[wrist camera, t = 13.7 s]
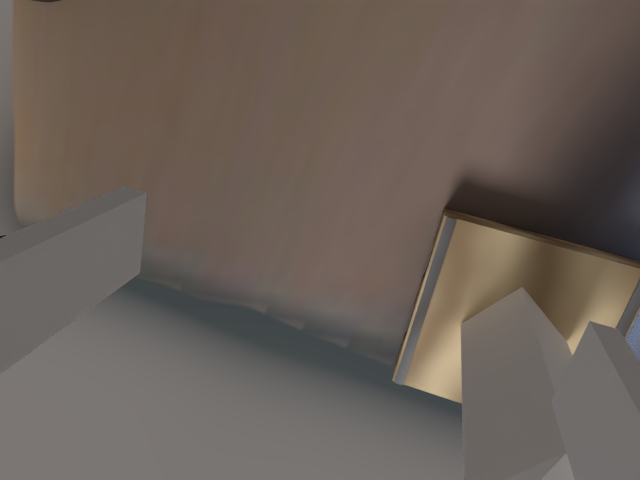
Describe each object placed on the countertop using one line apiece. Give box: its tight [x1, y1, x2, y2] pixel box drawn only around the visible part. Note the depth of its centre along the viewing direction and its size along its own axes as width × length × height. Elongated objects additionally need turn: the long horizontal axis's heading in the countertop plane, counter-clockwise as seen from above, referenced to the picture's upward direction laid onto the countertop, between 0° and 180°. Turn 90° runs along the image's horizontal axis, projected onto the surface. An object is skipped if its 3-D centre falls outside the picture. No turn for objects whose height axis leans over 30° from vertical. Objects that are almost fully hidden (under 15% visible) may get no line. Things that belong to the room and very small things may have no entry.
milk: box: [460, 287, 575, 480], centre depth 32 cm, size 6×6×22 cm
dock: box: [393, 208, 640, 403], centre depth 43 cm, size 16×16×3 cm
